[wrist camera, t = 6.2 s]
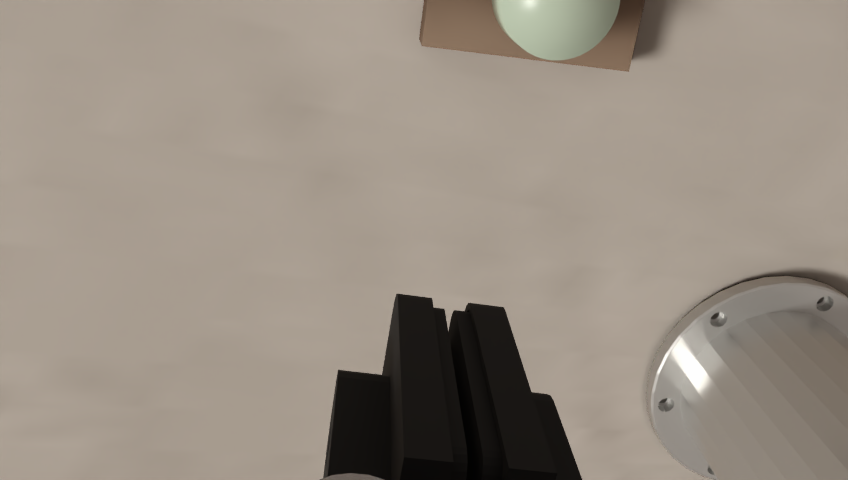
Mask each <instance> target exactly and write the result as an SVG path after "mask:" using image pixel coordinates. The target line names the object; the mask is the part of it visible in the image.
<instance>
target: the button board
mask: <svg viewBox="0 0 848 480" xmlns="http://www.w3.org/2000/svg"><path fill="white" fill-rule="evenodd" d="M644 3H645V0H620V5H619V10H618V13H617V16H616V19H615V21H614V23H613V25H612V27H611V29H610V30H609V32H608V33H607V34H606V36H605V37H604V38H603V39H602V40H601V41H600V42H599V43H598V44H597V45H596V46H595V47H594V48H592V49H591V50H589V51H588V52H586V53H584V54H582V55H580V56H577V57H575V58H571V59H567V60H547V59H542V58H539V57H536V56H534V55H532V54H530V53H528V52H527V51H525V50H524V49H522V48H521V47H520V46H519V45H518V44H516V43H515V42H514V41H513V40H512V39H511V38H509V37H508V36H507V35H506V34H505V32H504V31H503V30H502V29H501V27H500V25H499V24H498V22H497V20H496V17H495V14H494V11H493V6H492V0H424V5H423V13H422V21H421V29H420V37H419V40H420V42H421V44H422V46H426V47H434V48H443V49H451V50H459V51H467V52H475V53H483V54H491V55H499V56H507V57H515V58H523V59H531V60H539V61H547V62H556V63H564V64H572V65H580V66H588V67H596V68H604V69H612V70H620V71H628V72H629V68H630V64H631V59H632V55H633V51H634V46H635V42H636V38H637V33H638V29H639V25H640V20H641V16H642V12H643V7H644Z"/></svg>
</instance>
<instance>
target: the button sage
mask: <svg viewBox="0 0 848 480" xmlns="http://www.w3.org/2000/svg"><path fill="white" fill-rule="evenodd" d="M619 5H620V0H492V6H493V11H494V14H495V17H496V20H497V22H498V24H499V25H500V27H501V29H502V30H503V31H504V32H505V34H506V35H507V36H508V37H509V38H511V39H512V40H513V41H514V42H515V43H516V44H518V45H519V46H520V47H521V48H522V49H524V50H525V51H527V52H528V53H530V54H532V55H534V56H536V57H539V58H542V59H547V60H567V59H571V58H575V57H577V56H580V55H582V54H584V53H586V52H588V51H589V50H591V49H592V48H594V47H595V46H596V45H597V44H598V43H599V42H600V41H601V40H602V39H603V38H604V37H605V36H606V34H607V33H608V32H609V30H610V29H611V27H612V25H613V23H614V21H615V19H616V16H617V13H618V10H619Z"/></svg>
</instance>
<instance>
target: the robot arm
mask: <svg viewBox="0 0 848 480" xmlns="http://www.w3.org/2000/svg"><path fill="white" fill-rule="evenodd" d="M646 401H647V412H648V415H649V418H650V421H651V424H652V427H653V429H654V431H655V432H656V434H657V436H658V438H659V440H660V442H661V444H662V445H663V446H664V447H665V449H666V450H667V451H668V452H669V454H670V455H671V456H672V457H673V458H674V459H675V460H676V461H678V462H679V463H680V464H681V465H683V466H684V467H685V468H687V469H689V470H691V471H693V472H695V473H697V474H699V475H701V476H703V477H707V478H711V479H715V480H848V297H847V296H846V295H845V294H843V293H841V292H840V291H838V290H836V289H834V288H833V287H831V286H829V285H827V284H824V283H821V282H818V281H815V280H812V279H809V278H800V277H792V276H779V277H764V278H760V279H756V280H751V281H747V282H743V283H740V284H737V285H735V286H733V287H730V288H728V289H725V290H723V291H720V292H718V293H717V294H715V295H714V296H712V297H710V298H709V299H707V300H705V301H704V302H702V303H700V304H699V305H698V306H696V307H695V308H694V309H693V310H692V311H690V312H689V313H688V314H687V315H686V316H685V317H683V318H682V319H681V320H680V321H679V322H678V324H677V325H676V326H675V327H674V328H673V330H672V331H671V332H670V333H669V334H668V335H667V337H666V338H665V340H664V342H663V343H662V345H661V347H660V348H659V350H658V352H657V353H656V355H655V358H654V361H653V363H652V366H651V369H650V372H649V375H648V382H647V389H646ZM320 480H582V478H581V475H580V473H579V470H578V467H577V464H576V462H575V459H574V456H573V453H572V451H571V448H570V445H569V442H568V439H567V437H566V434H565V431H564V428H563V426H562V423H561V420H560V417H559V415H558V412H557V409H556V406H555V404H554V401H553V399H552V397H551V396H550V395H548V394H541V393H532V392H531V390H530V386H529V383H528V380H527V377H526V374H525V371H524V368H523V365H522V362H521V358H520V355H519V352H518V349H517V346H516V343H515V340H514V337H513V334H512V330H511V327H510V324H509V321H508V318H507V315H506V312H505V309H504V307H497V306H489V305H481V304H473V303H468V304H467V306H466V309H465V312H464V311H456V310H454V312H453V314H452V317H451V322H450V327H449V332H448V328H447V322H446V316H445V310H444V309H440V308H433V302H432V298H426V297H418V296H411V295H403V294H396V298H395V302H394V307H393V313H392V319H391V325H390V331H389V337H388V343H387V349H386V355H385V361H384V367H383V373H382V375H377V374H369V373H360V372H351V371H343V370H338V374H337V380H336V387H335V394H334V401H333V408H332V415H331V422H330V429H329V437H328V444H327V452H326V460H325V469H324V477H323V479H320Z"/></svg>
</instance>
